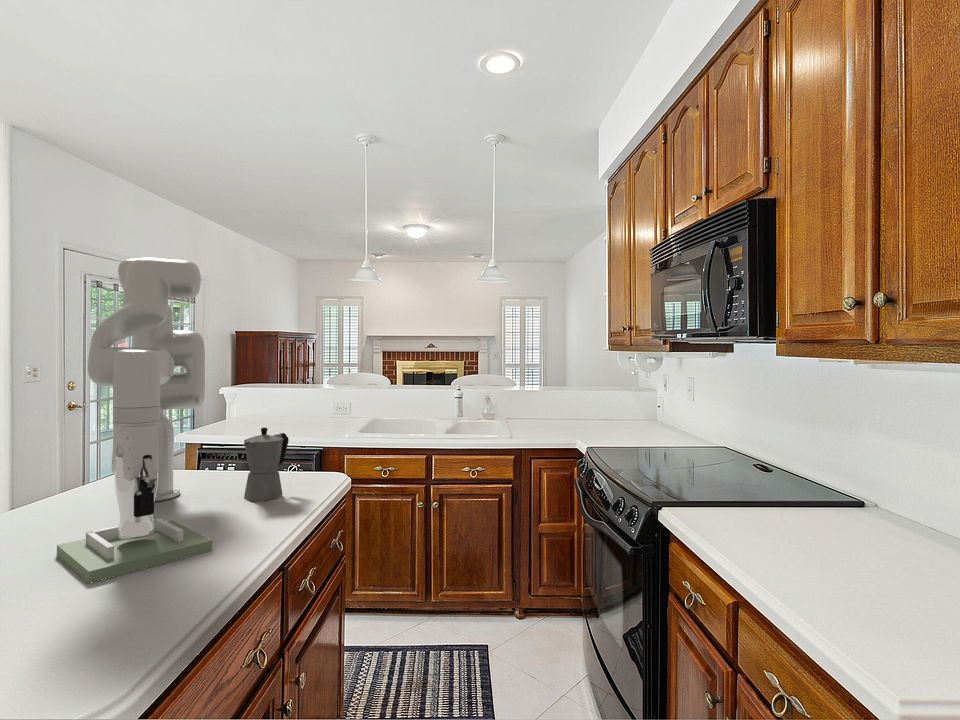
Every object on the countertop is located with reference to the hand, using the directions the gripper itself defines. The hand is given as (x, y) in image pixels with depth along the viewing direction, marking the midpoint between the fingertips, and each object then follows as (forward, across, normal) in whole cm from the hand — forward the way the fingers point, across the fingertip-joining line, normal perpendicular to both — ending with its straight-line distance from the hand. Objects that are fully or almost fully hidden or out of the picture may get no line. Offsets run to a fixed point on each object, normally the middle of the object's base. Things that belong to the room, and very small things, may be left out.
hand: (136, 510), depth 104 cm
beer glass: (+5, 0, 0) cm, 5 cm away
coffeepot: (+8, -19, +37) cm, 42 cm away
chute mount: (+8, 0, 0) cm, 8 cm away
